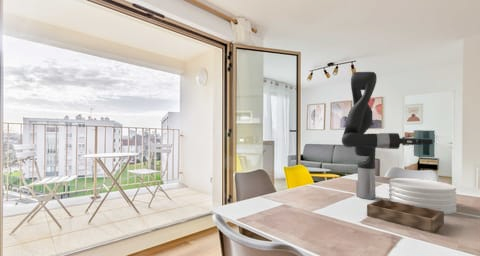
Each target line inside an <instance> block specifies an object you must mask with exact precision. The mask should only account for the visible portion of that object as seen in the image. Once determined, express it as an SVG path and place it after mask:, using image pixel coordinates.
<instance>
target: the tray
mask: <svg viewBox="0 0 480 256" xmlns="http://www.w3.org/2000/svg"><path fill="white" fill-rule="evenodd" d="M366 217H370V218H372V219H374V218H375V219H378V220H382V221H385V222H389V223H392V224H396V225H401V226H404V227H409V228H411V229H416V230H419V231H423V232H427V233H430V234H436V232H437V231H438V230H439V229H441V228H442V226H443V225H444V224H445V214H444V211H439V210H434V209H429V208H424V207H419V206H414V205H409V204H404V203H399V202H394V201H389V200H387V199H384V198H380V199H378V200H375V201H373V202H370V203H368V204H367V205H366Z"/></svg>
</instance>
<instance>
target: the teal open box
mask: <svg viewBox="0 0 480 256" xmlns="http://www.w3.org/2000/svg"><path fill="white" fill-rule="evenodd" d="M435 134H436V133H435V130H431V129H430V130H424V129H423V130H422V129H420V130H416V129H415V130H413V138H416V139H432V140H433V144H422V145H417V144H416V145H413V157H417V158H435ZM416 143H419V140H416Z"/></svg>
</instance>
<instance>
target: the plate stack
mask: <svg viewBox="0 0 480 256" xmlns="http://www.w3.org/2000/svg"><path fill="white" fill-rule="evenodd" d="M388 183H389V185H388V187H389V189H388V192H389V198H388V199H389V201H394V202H399V203H404V204H409V205H414V206H419V207H424V208H429V209H434V210H439V211H444V215H447V214H454V213H456V212H457V192H456V191H457V187H456V186H455V185H453V184H450V183H446V182H442V181H436V180H430V179H421V178H410V177H409V178H407V177H406V178H405V177H404V178H403V177H402V178H401V177H400V178H390V179H389V180H388Z"/></svg>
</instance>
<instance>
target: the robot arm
mask: <svg viewBox="0 0 480 256" xmlns="http://www.w3.org/2000/svg"><path fill="white" fill-rule="evenodd" d="M376 84H377V74H376V73H375V72H374V71H354V72H353V73H352V75H351V78H350V87H351V94H352V96H351V97H352V102H353V105H352V107H351V108H350V110H349V112H348V114H347V118H346V123H345V127H344V128H345V129H344V132H343V134H342V138H341V143H342V145H343V146H344V147H345V148H354V152H355V155H356V156H359V157H368V158H367V159H366V160H363V161H359V162H358V163H357V179H356V180H355V183H356V184H355V186H356V187H355V190H356V193H355V196H356V197H358V198H361V199H366V200H376V194H377V193H376V149H383V150H385V149H387V150H399V149H400V147H401V146H400V145H402V146H406V147H407V146H414V145H416V144H417V145H422V144H433V140H432V139H416V138H414V137H409V136H402V137H400V136H401V135H400V134H399V133H398V132H397V133H396V132H381V133H380V132H379V133H366V132H367V131H368V130H369V129H370V127H371V126H372V124H373V110H372V107H371V106H370V105H369V102H370V100H371V98H372V96H373V92H374V91H375V88H376ZM362 91H363V93H362ZM416 140H419V143H416Z"/></svg>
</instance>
